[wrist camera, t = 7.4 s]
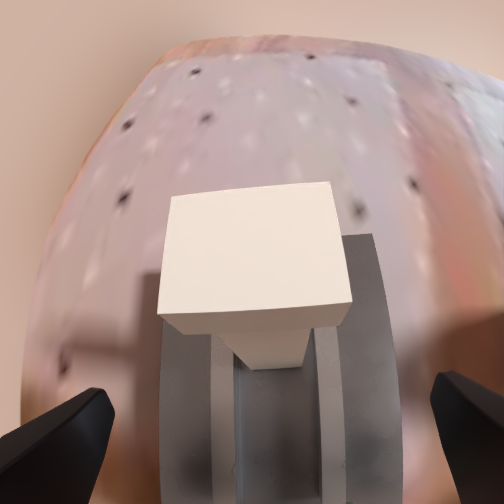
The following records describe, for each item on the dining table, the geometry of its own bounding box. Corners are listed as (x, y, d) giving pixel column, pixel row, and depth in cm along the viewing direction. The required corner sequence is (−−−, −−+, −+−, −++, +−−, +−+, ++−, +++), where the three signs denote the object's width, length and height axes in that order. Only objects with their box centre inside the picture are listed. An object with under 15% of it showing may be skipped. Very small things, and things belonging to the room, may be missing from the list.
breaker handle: (314, 369, 14) (352, 301, 5) (238, 374, 14) (157, 313, 6) (310, 314, 15) (329, 181, 7) (238, 319, 15) (171, 196, 7)
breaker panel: (385, 514, 11) (411, 540, 7) (182, 521, 13) (150, 547, 8) (362, 257, 20) (378, 215, 16) (184, 271, 21) (159, 234, 17)
